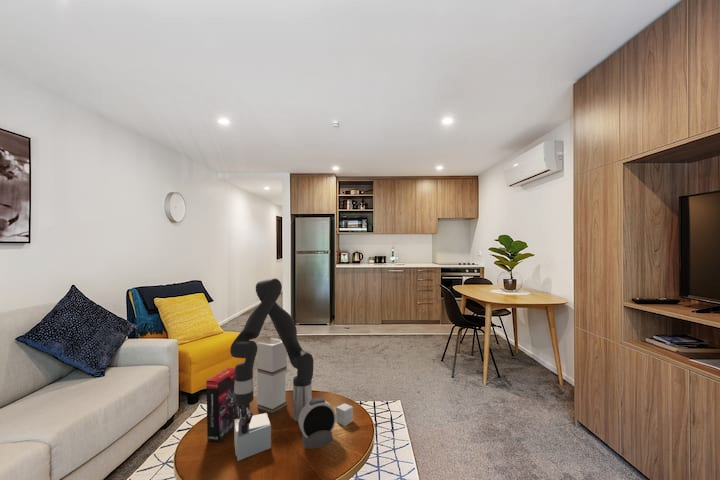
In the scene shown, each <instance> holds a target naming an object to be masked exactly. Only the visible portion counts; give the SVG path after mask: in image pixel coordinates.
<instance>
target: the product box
mask: <svg viewBox="0 0 720 480" xmlns="http://www.w3.org/2000/svg"><path fill="white" fill-rule="evenodd" d="M335 413H336V423H337V424H340V425H341V426H344V427H346V426H348V425H349V424H351V423H353V422H354V407H353V406H352V405H350V404H347V403H342V404H341V405H338V406H336V411H335Z"/></svg>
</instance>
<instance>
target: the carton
mask: <svg viewBox="0 0 720 480" xmlns="http://www.w3.org/2000/svg"><path fill="white" fill-rule="evenodd" d="M238 422H239V419H234V429H233V431H234V434H233V435H234V436H233V437H234V438H233V441H234V443H233V445H234V451H235V457H237V436H238ZM268 425H271V421H270V419H269V417H268V412H264V413H259V414H255V415H254V414H253V416H252V419H251V422H250V424H249V432H250V431H253V430H256V429H259V428H262V427H265V426H268Z"/></svg>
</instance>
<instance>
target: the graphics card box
mask: <svg viewBox="0 0 720 480" xmlns="http://www.w3.org/2000/svg"><path fill="white" fill-rule="evenodd" d="M234 383H235V367H227V368H226V369H224V370H222V371H221V372H219V373H217V374H216V375H214V376H213V377H211V378H209V379H207V380H206V384H205V385H206V388H205V389H206V433H207V434H206V436H207V437H206V438H207V439H206V440H207V441H208V442H212V443H213V442H214V443H220V442H222V441H223V439H225V438H226V437H227V436H228V435H229V434H230V433H231V432H232V431H234V419H238V416H237V411H236V404H235V403H234Z"/></svg>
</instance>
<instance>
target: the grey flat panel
mask: <svg viewBox="0 0 720 480" xmlns="http://www.w3.org/2000/svg"><path fill="white" fill-rule="evenodd" d="M241 423H242V421H241V422H238V436H237V456H236V458H237V462H239V461H241V460H243V459H246V458H249V457H251V456H254V455H257V454H259V453H262V452H264V451H266V450H269V449H271V448H272V424H270V425H268V426H265V427H262V428H259V429H256V430H253V431H250V432H249V424H248V432H247V433H245V434H242V424H241Z"/></svg>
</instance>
